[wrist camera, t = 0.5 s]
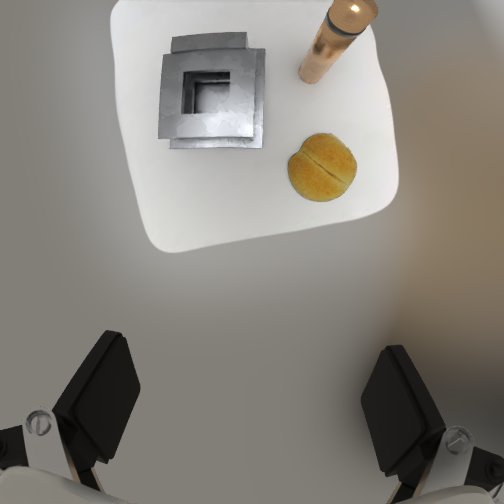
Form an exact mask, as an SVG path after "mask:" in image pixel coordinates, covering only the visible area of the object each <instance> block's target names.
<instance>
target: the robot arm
mask: <svg viewBox="0 0 504 504" xmlns="http://www.w3.org/2000/svg"><path fill="white" fill-rule="evenodd" d="M139 393H140V383H139V380H138V377H137V374H136V370H135V368H134V364H133V361H132V357H131V354H130V351H129V347H128V344H127V340H126V338H125V337H123V336H122V334H121V333H119V332H115V331H109V330H106V331H105V332H104V333H103V334H102V336H101V337H100V338H99V340H98V341H97V343H96V344H95V346H94V347H93V348H92V350H91V351H90V353H89V354H88V355H87V357H86V358H85V360H84V361H83V363H82V364H81V366H80V367H79V369H78V370H77V372H76V373H75V375H74V376H73V378H72V379H71V381H70V382H69V384H68V385H67V387H66V389H65V390H64V392H63V393H62V395H61V396H60V398H59V399H58V401H57V403H56V404H55V406H54V408H53V409H52V411H51V410H49V409H48V408H45V407H35V408H32V409H31V410H29V411H28V412H27V413H26V414H25V416H24V418H23V424H22V425H19V426H15V427H12V428H8V429H4V430H0V504H135V503H132V502H128V501H125V500H122V499H119V498H116V497H113V496H110V495H108V494H106V493H105V491H104V489H103V487H102V485H101V482H100V480H99V478H98V476H97V473H96V471H95V469H94V465H95V462H96V460H97V461H100V462H102V463H105V464H108V461H109V459H112V458H113V457H114V455H115V452H116V450H117V448H118V445H119V442H120V440H121V437H122V434H123V432H124V429H125V427H126V424H127V422H128V420H129V417H130V414H131V412H132V410H133V407H134V405H135V402H136V400H137V398H138V395H139ZM361 405H362V408H363V411H364V414H365V418H366V421H367V424H368V428H369V431H370V434H371V438H372V441H373V445H374V449H375V452H376V456H377V459H378V463H379V467H380V470H381V471H382V472H385V476H386V477H389V476H393V475H396V474H397V475H398V478H399V482H398V483H397V485H396V487H395V489H394V491H393V493H392V494H391V496H390V498H389V500H388V501H387V503H386V504H504V459H503V458H502V457H501V456H499V455H496V454H493V453H490V452H488V451H485V450H482V449H480V448H477V447H475V446H474V441H473V437H472V435H471V434H470V432H469V431H468V430H467V429H465V428H463V427H459V426H455V427H451V428H449V429H446V427H445V423H444V421H443V419H442V417H441V415H440V413H439V411H438V409H437V407H436V405H435V403H434V401H433V399H432V397H431V395H430V393H429V391H428V390H427V388H426V386H425V384H424V382H423V380H422V379H421V377H420V375H419V373H418V371H417V370H416V368H415V366H414V364H413V362H412V361H411V359H410V357H409V356H408V354H407V352H406V350H405V349H404V347H403V346H402V345H391V346H387V347H386V348H385V349H384V350H382V351H381V353H380V355H379V358H378V360H377V363H376V365H375V367H374V370H373V372H372V374H371V376H370V379H369V381H368V383H367V385H366V387H365V389H364V391H363V393H362V396H361Z"/></svg>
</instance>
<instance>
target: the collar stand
mask: <svg viewBox="0 0 504 504" xmlns="http://www.w3.org/2000/svg"><path fill="white" fill-rule="evenodd" d="M171 53H172V54H165V55H163V63H162V74H161V87H160V103H159V127H158V139H170V149H175V148H206V147H237V148H262V133H263V104H264V73H265V49H254V48H249V47H248V39H247V32H225V33H207V34H196V35H186V36H178V37H172V43H171Z"/></svg>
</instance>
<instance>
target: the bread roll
mask: <svg viewBox="0 0 504 504" xmlns="http://www.w3.org/2000/svg"><path fill="white" fill-rule="evenodd" d="M288 170H289V176H290V180H291V182H292V184H293V186H294V188H295V190H296V191H297V192H298V193H299V194H300V195H302V196H303V197H305V198H307V199H309V200H312V201H317V202H325V201H330V200H333V199H335V198H338V197H340V196H341V195H342V194H343V193H344V192H345V191H346V190H347V188H348V187H349V186H350V184H351V183H352V181H353V180H354V177H355V174H356V171H357V163H356V161H355V159H354V157H353V155H352V153H351V151H350V150H349V148H347V147H346V146H345V145H344V144H343V143H342V142H341V141H340V140H339V139H338V138H337V137H336V136H335V135H333V134H324V133H322V134H316V135H313V136H312V137H310V138H308V139H307V140H306V141H305V142H304V144H303V145H302V148H301V149H300V150H299V152H298V153H296V154H295V155H293V156H292V157H291V159H290V161H289V165H288Z"/></svg>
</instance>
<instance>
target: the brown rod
mask: <svg viewBox="0 0 504 504" xmlns="http://www.w3.org/2000/svg"><path fill="white" fill-rule="evenodd" d="M377 14H378V8H377V5H376V3H375V2H374V1H373V0H334V2H333V4H332V6H331V7H330V8H329V10H328V12H327V14H326V16H325V19H324V21H323V23H322V25H321V27H320V29H319V31H318V33H317V35H316V37H315V39H314V41H313V43H312V45H311V47H310V49H309V51H308V53H307V55H306V57H305V59H304V61H303V63H302V65H301V67H300V69H299V76H300V78H301V79H302V80H303V81H304V82H306V83H309V84H314V83H317V82H318V81H319V80H320V79H321V78H322V76H323V75H324V74H325V73H326V72H327V71H328V69H329V68H330V67H331V66H332V65H333V64H334V62H335V61H336V60H337V59H338V58H339V57H340V56H341V54H342V53H343V52H344V51H345V50H346V49H347V48H348V47H349V45H350V44H351V43H352V42H353V41H354V40H355V39H356V38H357V37H358V36H359V35H360V34H361V33H362V32H363V31H364V30H365V29H366V27H367V26H368V25H369V24H370V23H371V22H372V20H373V19H374V18H375V17H376V16H377Z"/></svg>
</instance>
